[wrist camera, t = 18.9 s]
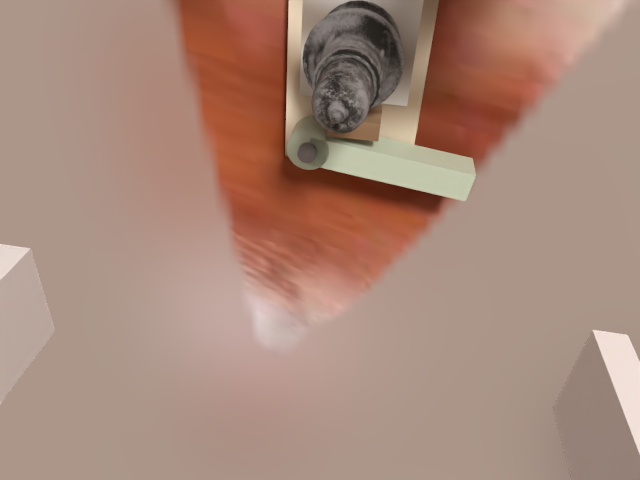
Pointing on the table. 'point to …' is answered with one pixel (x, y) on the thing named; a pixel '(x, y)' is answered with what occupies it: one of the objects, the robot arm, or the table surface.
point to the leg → (382, 161)
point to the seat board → (405, 102)
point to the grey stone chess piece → (352, 64)
